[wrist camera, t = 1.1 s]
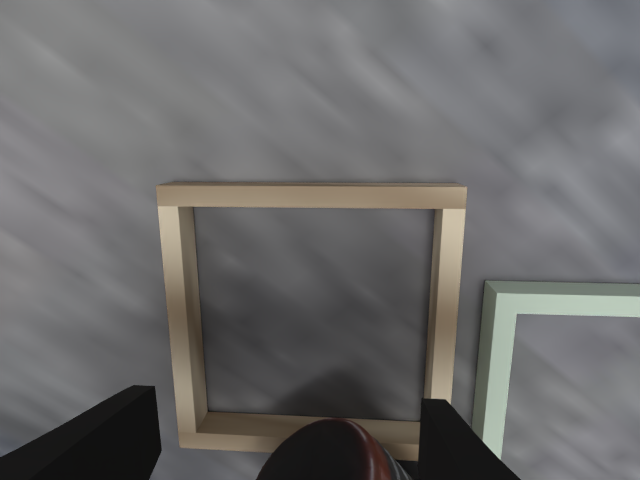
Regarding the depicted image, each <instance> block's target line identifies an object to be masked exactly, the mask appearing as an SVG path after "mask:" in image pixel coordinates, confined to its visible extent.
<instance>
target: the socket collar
mask: <svg viewBox="0 0 640 480" xmlns="http://www.w3.org/2000/svg"><path fill="white" fill-rule="evenodd" d="M156 192H157V203H158V214H159V225H160V236H161V247H162V258H163V270H164V281H165V292H166V303H167V314H168V325H169V336H170V347H171V358H172V369H173V380H174V391H175V402H176V413H177V424H178V435H179V446H180V448H194V449H212V450H230V451H248V452H266V453H273V452H274V451H275V450H276V448H277V447H278V446H279V445H280V444H281V443H282V442H283V441H284V440H286V439H287V438H288V437H289V436H290V435H292V434H293V433H294V432H296V431H297V430H299V429H300V428H302V427H304V426H305V425H307V424H309V423H312V422H314V421H317V420H320V419H325V418H330V417H309V416H288V415H268V414H247V413H227V412H208V409H207V395H206V381H205V367H204V353H203V339H202V326H201V312H200V298H199V284H198V270H197V256H196V242H195V228H194V214H193V207H291V208H402V209H435V218H434V235H433V252H432V269H431V285H430V302H429V319H428V336H427V352H426V369H425V386H424V398H429V399H446V400H447V401H448V402H449V404H450V405H451V394H452V381H453V368H454V355H455V341H456V328H457V315H458V302H459V289H460V276H461V263H462V250H463V237H464V223H465V210H466V197H467V187H466V186H463V185H461V184H458V183H286V182H170V183H165V184H161V185H156ZM344 419H347V420H351V421H353V422H356V423H357V424H359V425H360V426H362V427H363V428H364V429H365V430H366V431H367V432H368V433H369V434H370V435H371V436H373V437H374V438H375V439H376V440H378V442H379V443H380V444H381V445H382V446H383V447H384V448H385V449H386V450H387V451H388V452H389V454H390V455H391V456H392V457H393V459H394V460H409V461H418V452H419V435H420V422H412V421H392V420H371V419H350V418H344Z"/></svg>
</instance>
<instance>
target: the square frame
mask: <svg viewBox="0 0 640 480" xmlns="http://www.w3.org/2000/svg"><path fill="white" fill-rule="evenodd" d="M517 314H551V315H587V316H623V317H640V284H618V283H573V282H527V281H485V286H484V297H483V308H482V319H481V330H480V341H479V352H478V363H477V374H476V385H475V396H474V408H473V419H472V430H473V431H474V432H475V433H476V435H477V436H478V437H479V438H480V439H481V440H482V441H483V442H484V443H485V444H486V445H487V446H488V447H489V449H490V450H491V451H492V452H493V453H494V454H495V455H496V456H497V457H498V458H499V459H500V460H501V452H502V442H503V433H504V424H505V415H506V406H507V397H508V388H509V379H510V370H511V361H512V352H513V343H514V334H515V325H516V316H517Z"/></svg>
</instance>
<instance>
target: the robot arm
mask: <svg viewBox="0 0 640 480" xmlns="http://www.w3.org/2000/svg"><path fill="white" fill-rule="evenodd" d="M161 451H162V450H161V440H160V430H159V421H158V411H157V402H156V392H155V386H139V385H133V386H131V387H129V388H127V389H125V390H123V391H121V392H119V393H117V394H115V395H114V396H112V397H110V398H108V399H106V400H105V401H103V402H101V403H99V404H98V405H96V406H94V407H92V408H91V409H89V410H87V411H85V412H84V413H82V414H80V415H78V416H77V417H75V418H73V419H71V420H70V421H68V422H66V423H64V424H63V425H61V426H59V427H57V428H56V429H54V430H52V431H50V432H48V433H46V434H44V435H42V436H41V437H39V438H37V439H35V440H33V441H31V442H29V443H27V444H26V445H24V446H22V447H20V448H18V449H16V450H14V451H12V452H10V453H8V454H6V455H4V456H2V457H0V480H149V478H150V476H151V474H152V472H153V469H154V467H155V465H156V462H157V460H158V458H159V456H160V453H161ZM418 471H419V479H420V480H521V479H520V478H518V477H517V476H516V475H515V474H514V473H513V472H512V471H511V470H510V469H509V468H508V467H507V466H506V465H505V464H504V463H503V462H502V461H501V460H500V459H499V458H498V457H497V456H496V455H495V454H494V453H493V452H492V451H491V450H490V449H489V447H488V446H487V445H486V444H485V443H484V442H483V441H482V440H481V439H480V438H479V437H478V436H477V435H476V433H475V432H474V431H473V430H472V429H471V428H470V427H469V425H468V424H467V423H466V422H465V421H464V420H463V419H462V417H461V416H460V415H459V414H458V413H457V412H456V410H455V409H454V408H453V407H452V406H451V405H450V404H449V402H448V401H447V400H446V399H429V398H422V402H421V418H420V435H419V452H418Z"/></svg>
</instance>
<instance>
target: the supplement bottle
mask: <svg viewBox="0 0 640 480" xmlns="http://www.w3.org/2000/svg"><path fill="white" fill-rule="evenodd" d="M256 480H413V479H412V478H411V477H410V475H409V474H408V473H407V472H406V471H405V470H404V469H403V468H402V467H401V466H400V465H399V463H398V462H397V461H396V460H394V459H393V457H392V456H391V455H390V454H389V452H388V451H387V450H386V449H385V448H384V447H383V446H382V445H381V444H380V443H379V442H378V440H376V439H375V438H374V437H373V436H371V435H370V434H369V433H368V432H367V431H366V430H365V429H364V428H363V427H362V426H360V425H359V424H357V423H356V422H353V421H351V420H347V419H344V418H334V417H331V418H325V419H320V420H317V421H314V422H312V423H309V424H307V425H305V426H304V427H302V428H300V429H299V430H297V431H296V432H294V433H293V434H292V435H290V436H289V437H288V438H287V439H286V440H284V441H283V442H282V443H281V444H280V445H279V446H278V447H277V448H276V450H275V451H274V452H273V453H272V455H271V456H270V458H269V459H268V460H267V462H266V463H265V465H264V466H263V467H262V469H261V471H260V473H259V475H258V477H257V479H256Z"/></svg>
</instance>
